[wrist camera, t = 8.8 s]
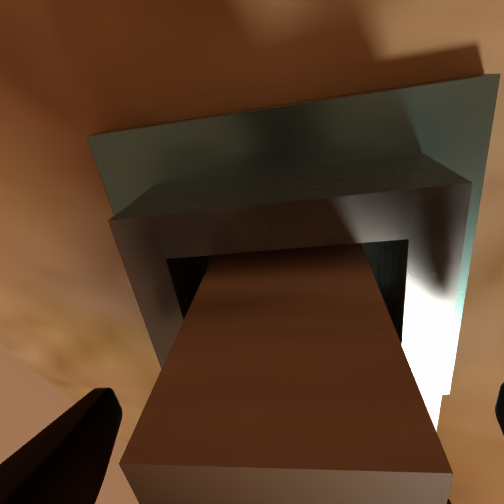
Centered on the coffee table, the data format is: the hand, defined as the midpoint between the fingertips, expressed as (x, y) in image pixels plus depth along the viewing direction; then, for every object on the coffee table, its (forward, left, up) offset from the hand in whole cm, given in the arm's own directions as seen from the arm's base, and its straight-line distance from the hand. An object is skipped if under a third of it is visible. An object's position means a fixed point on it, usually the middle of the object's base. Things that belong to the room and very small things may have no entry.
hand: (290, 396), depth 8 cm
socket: (0, 0, -6) cm, 6 cm away
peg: (0, 0, -5) cm, 5 cm away
